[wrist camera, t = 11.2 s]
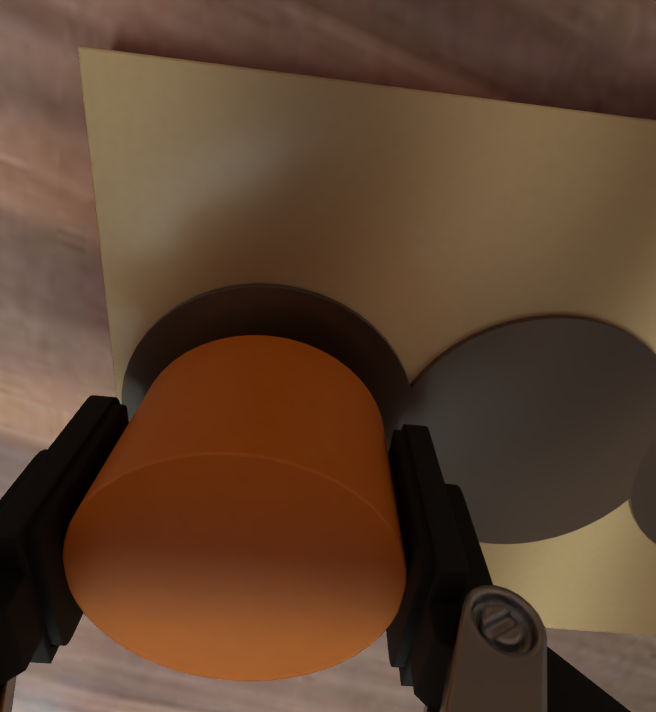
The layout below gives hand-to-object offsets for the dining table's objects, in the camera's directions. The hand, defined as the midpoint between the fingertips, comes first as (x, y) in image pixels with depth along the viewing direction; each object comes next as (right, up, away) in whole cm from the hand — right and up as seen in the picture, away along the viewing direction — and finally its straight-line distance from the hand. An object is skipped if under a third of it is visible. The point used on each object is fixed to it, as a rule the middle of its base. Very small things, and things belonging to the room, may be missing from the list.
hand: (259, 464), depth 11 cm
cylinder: (0, 0, +1) cm, 1 cm away
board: (+7, +1, +3) cm, 8 cm away
